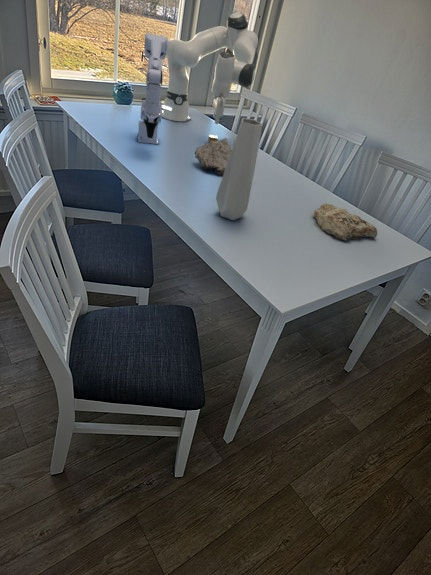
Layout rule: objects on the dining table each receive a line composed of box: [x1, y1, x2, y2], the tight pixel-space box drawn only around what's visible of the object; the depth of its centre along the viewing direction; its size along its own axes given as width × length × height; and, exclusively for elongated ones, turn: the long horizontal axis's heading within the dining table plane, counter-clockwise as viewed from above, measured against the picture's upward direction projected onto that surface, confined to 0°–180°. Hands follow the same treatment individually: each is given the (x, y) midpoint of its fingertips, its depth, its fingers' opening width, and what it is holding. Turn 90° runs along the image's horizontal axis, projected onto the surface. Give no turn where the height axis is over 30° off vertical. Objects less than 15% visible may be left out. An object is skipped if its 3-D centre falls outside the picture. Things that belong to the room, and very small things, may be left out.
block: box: [207, 134, 219, 143], centre depth 197 cm, size 4×4×4 cm
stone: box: [313, 203, 378, 242], centre depth 145 cm, size 19×6×25 cm
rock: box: [193, 138, 232, 176], centre depth 167 cm, size 15×17×15 cm
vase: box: [215, 117, 263, 221], centre depth 128 cm, size 12×12×33 cm
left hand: (150, 134), depth 165 cm, fingers open, 7 cm apart
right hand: (215, 120), depth 191 cm, fingers open, 8 cm apart
